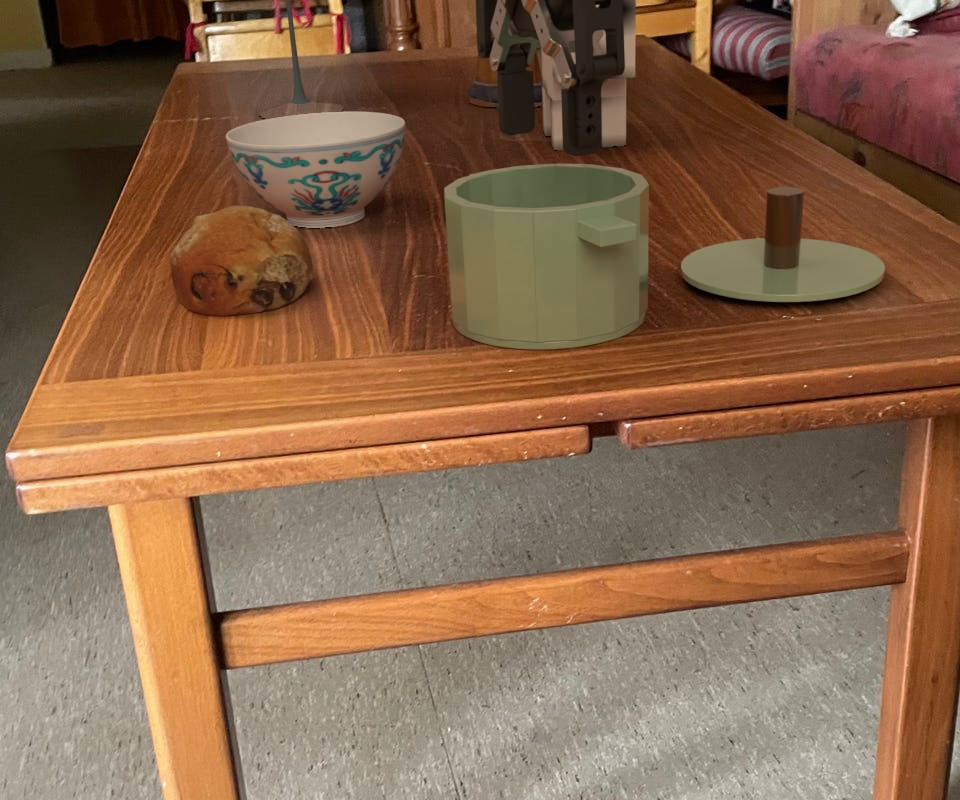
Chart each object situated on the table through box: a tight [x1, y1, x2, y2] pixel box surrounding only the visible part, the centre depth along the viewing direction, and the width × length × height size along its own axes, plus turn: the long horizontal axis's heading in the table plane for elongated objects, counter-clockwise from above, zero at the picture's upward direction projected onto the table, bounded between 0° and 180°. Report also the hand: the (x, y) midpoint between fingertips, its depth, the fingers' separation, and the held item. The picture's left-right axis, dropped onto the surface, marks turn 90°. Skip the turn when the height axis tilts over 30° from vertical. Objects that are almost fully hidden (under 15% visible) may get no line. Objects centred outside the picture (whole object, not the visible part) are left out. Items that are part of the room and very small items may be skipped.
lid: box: [680, 186, 886, 303], centre depth 83 cm, size 14×14×6 cm
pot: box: [443, 163, 650, 351], centre depth 78 cm, size 13×18×8 cm
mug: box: [468, 18, 542, 104], centre depth 151 cm, size 19×14×20 cm
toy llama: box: [541, 0, 637, 151], centre depth 126 cm, size 8×18×20 cm, turn 4°
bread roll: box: [168, 205, 314, 317], centre depth 87 cm, size 10×10×8 cm
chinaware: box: [225, 110, 406, 229], centre depth 105 cm, size 15×15×8 cm
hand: (548, 142), depth 75 cm, fingers open, 8 cm apart
